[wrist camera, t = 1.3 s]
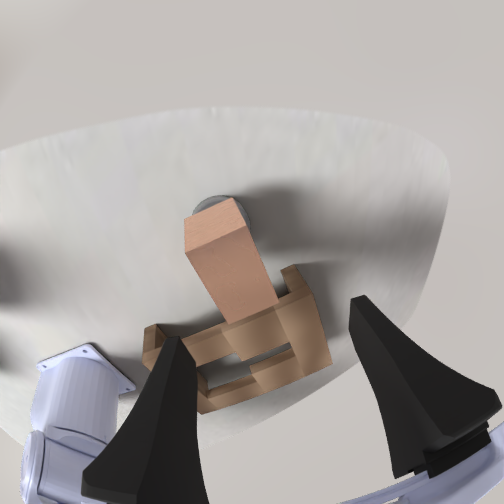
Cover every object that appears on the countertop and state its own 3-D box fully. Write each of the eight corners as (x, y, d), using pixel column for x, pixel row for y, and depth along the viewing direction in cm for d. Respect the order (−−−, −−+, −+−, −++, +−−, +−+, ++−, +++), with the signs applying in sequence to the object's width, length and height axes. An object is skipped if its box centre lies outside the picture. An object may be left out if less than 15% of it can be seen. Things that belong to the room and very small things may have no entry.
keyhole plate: (197, 384, 28) (201, 414, 25) (144, 328, 23) (142, 363, 20) (317, 335, 28) (332, 363, 25) (293, 264, 23) (312, 293, 20)
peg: (208, 261, 21) (220, 327, 15) (177, 204, 19) (175, 257, 12) (256, 239, 21) (288, 298, 15) (231, 179, 19) (257, 220, 13)
